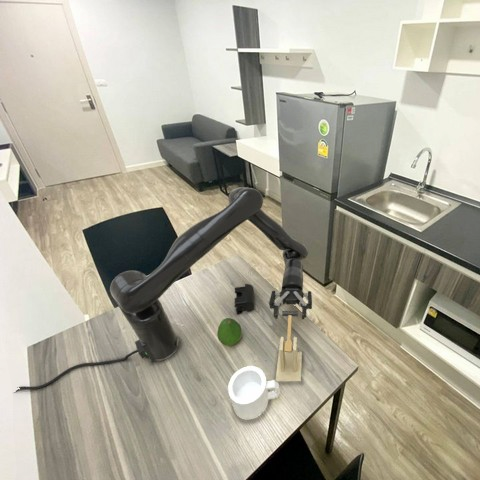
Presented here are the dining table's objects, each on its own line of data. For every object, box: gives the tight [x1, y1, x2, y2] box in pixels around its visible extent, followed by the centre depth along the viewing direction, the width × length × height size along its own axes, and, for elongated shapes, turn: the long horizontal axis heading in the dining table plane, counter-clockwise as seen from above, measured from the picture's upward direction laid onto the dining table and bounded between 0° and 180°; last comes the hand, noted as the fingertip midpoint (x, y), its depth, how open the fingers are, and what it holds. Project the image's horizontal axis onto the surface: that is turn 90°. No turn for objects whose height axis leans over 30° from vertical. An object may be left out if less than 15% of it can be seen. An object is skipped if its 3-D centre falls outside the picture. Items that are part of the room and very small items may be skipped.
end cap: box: [234, 283, 255, 315], centre depth 106 cm, size 10×7×7 cm
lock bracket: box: [274, 336, 303, 382], centre depth 83 cm, size 10×8×14 cm
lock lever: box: [281, 310, 299, 352], centre depth 83 cm, size 12×5×2 cm, turn 2°
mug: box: [227, 365, 281, 421], centre depth 76 cm, size 14×10×11 cm
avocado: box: [216, 317, 243, 347], centre depth 91 cm, size 8×8×12 cm
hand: (289, 317), depth 84 cm, fingers open, 8 cm apart
